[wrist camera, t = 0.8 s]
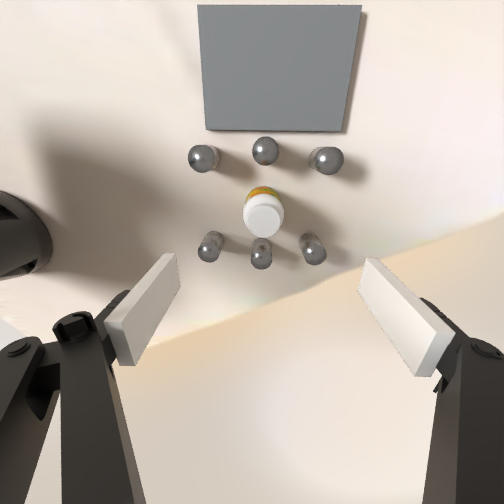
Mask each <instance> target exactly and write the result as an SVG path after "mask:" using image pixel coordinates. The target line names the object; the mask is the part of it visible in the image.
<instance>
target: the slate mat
mask: <svg viewBox="0 0 504 504" xmlns="http://www.w3.org/2000/svg"><path fill="white" fill-rule="evenodd" d="M197 9H198V23H199V38H200V53H201V67H202V82H203V97H204V111H205V126H206V130H260V131H333V132H339V131H341V129H342V123H343V117H344V111H345V105H346V99H347V93H348V87H349V81H350V75H351V69H352V63H353V57H354V51H355V45H356V39H357V33H358V27H359V21H360V15H361V9H362V5H197Z"/></svg>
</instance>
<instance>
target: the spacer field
mask: <svg viewBox="0 0 504 504" xmlns="http://www.w3.org/2000/svg"><path fill="white" fill-rule="evenodd" d="M252 153H253V157H254V159H255V161H256V162H257V163H259V164H261V165H270V164H272V163H273V162H274V161H275V160H276V159H277V157H278V153H279V148H278V145H277V143H276V141H275V140H274V139H272V138H270V137H261V138H259V139H258V140H257V141H256V142H255V144H254V146H253V150H252ZM188 161H189V164H190V166H191V167H192V168H193V169H194V170H195V171H197V172H200V173H205V172H207V171H209V170H212V169H214V168H215V167H217V166H218V164H219V162H220V154H219V152H218V150H217V149H216V148H215V147H213V146H211V145H196V146H194V147H192V148H191V150H190V151H189V154H188ZM343 161H344V157H343V153H342V152H341V150H340V149H338V148H336V147H318V148H316V149H314V150H313V151H312V152H311V154H310V156H309V164H310V166H311V168H312V169H313V170H315V171H318V172H320V173H322V174H325V175H332V174H335V173H336V172H338V171H339V170H340V168H341V167H342V165H343ZM223 243H224V238H223V236H222V235H221V234H220V233H218V232H215V231H212V232H209V233H208V234H207V235H206V237H205V238H204V240H203V242H202V243H201V245H200V247H199V249H198V255H199V257H200V258H201V259H202V260H203V261H205V262H214V261H216V260H217V259H218V257H219V254H220V251H221V249H222V246H223ZM299 245H300V248H301V250H302V253H303V255H304V258H305V260H306V262H307V263H309V264H311V265H318V264H321V263H322V262H323V261H324V260H325V259H326V251H325V249H324V247H323V246H322V244H321V243H320V241H319V240H318V238H317V237H316V236H315V235H314V234H305V235H304V236H302V237H301V239H300V241H299ZM251 263H252V265H253V266H254V267H255V268H257V269H266V268H268V267H269V266H270V265H271V263H272V254H271V246H270V243H269V241H268V240H266V239H264V238H258V239H256V240H255V241H254V242H253V244H252V253H251Z"/></svg>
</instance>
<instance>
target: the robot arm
mask: <svg viewBox="0 0 504 504" xmlns="http://www.w3.org/2000/svg"><path fill="white" fill-rule="evenodd" d="M51 254H52V243H51V238H50V236H49V233H48V231H47V229H46V227H45V226H44V224H43V223H42V221H41V220H40V219H39V217H38V216H37V215H36V214H35V213H34V212H33V211H32V210H31V209H30V208H29V207H28V206H26V205H25V204H24V203H22V202H21V201H19V200H18V199H16V198H14V197H13V196H11V195H9V194H7V193H4V192H1V191H0V281H3V280H7V279H11V278H16V277H20V276H24V275H27V274H30V273H32V272H34V271H36V270H37V269H39V268H41V267H43V266H44V265H45V264H46V263H47V262H48V261H49V259H50V257H51ZM179 288H180V281H179V274H178V268H177V261H176V255H175V253H164V254H163V255H162V256H161V257H160V259H159V260H158V261H157V262H156V263H155V264H154V265H153V266H152V268H151V269H150V270H149V271H148V272H147V273H146V274H145V275H144V277H143V278H142V279H141V280H140V281H139V282H138V283H137V284H136V285H135V287H134V288H133V289H132V290H125V291H123V292H122V293H120V294H118V295H117V296H116V297H115V298H114V299H113V300H112V301H111V303H109V304H108V305H107V306H106V308H104V309H103V310H102V311H101V313H100V314H99V315H98V316H97V317H96V318H95V319H93V317H92V315H91V313H90V312H86V311H81V312H76V313H72V314H69V315H67V316H65V317H63V318H62V319H60V320H59V321H57V322H56V323H55V324H54V326H53V329H52V330H53V332H54V334H55V336H56V338H57V340H58V341H56V342H51V343H46V344H42V342H41V340H40V339H39V338H38V337H34V336H32V337H25V338H22V339H19V340H17V341H14V342H12V343H11V344H9V345H7V346H6V347H4V348H3V349H2V350H1V351H0V504H24V503H25V499H26V497H27V494H28V490H29V487H30V484H31V481H32V478H33V475H34V472H35V469H36V466H37V462H38V459H39V456H40V453H41V450H42V447H43V444H44V440H45V437H46V434H47V431H48V428H49V425H50V422H51V419H52V416H53V413H54V409H55V406H56V403H57V400H58V397H59V394H61V395H60V396H61V468H62V469H61V471H62V472H61V477H62V504H146V501H145V497H144V493H143V489H142V485H141V481H140V477H139V472H138V468H137V465H136V460H135V456H134V452H133V448H132V444H131V440H130V436H129V432H128V428H127V424H126V420H125V416H124V412H123V408H122V404H121V399H120V395H119V391H118V388H117V384H116V379H115V375H114V371H113V368H112V365H111V364H112V363H113V361H114V360H115V358H116V357H117V360H118V363H119V365H120V366H136V364H137V362H138V360H139V359H140V357H141V355H142V353H143V352H144V350H145V348H146V346H147V345H148V343H149V341H150V339H151V337H152V336H153V334H154V332H155V330H156V329H157V327H158V325H159V323H160V322H161V320H162V318H163V316H164V314H165V313H166V311H167V309H168V307H169V306H170V304H171V302H172V300H173V299H174V297H175V295H176V293H177V291H178V290H179ZM357 292H358V293H359V295H360V296H361V298H362V299H363V301H364V302H365V304H366V305H367V307H368V308H369V310H370V311H371V313H372V314H373V316H374V317H375V319H376V320H377V322H378V323H379V325H380V326H381V327H382V329H383V331H384V332H385V333H386V335H387V336H388V338H389V339H390V341H391V342H392V344H393V345H394V347H395V348H396V350H397V351H398V353H399V354H400V356H401V357H402V359H403V360H404V362H405V363H406V365H407V366H408V368H409V369H410V371H411V372H412V374H413V375H414V376H422V377H431V376H432V374H433V372H434V371H435V369H436V368H437V369H438V371H439V372H440V373H441V374H442V377H441V379H440V380H439V382H438V384H437V385H436V387H435V389H434V390H433V392H435V393H436V392H437V391H438V393H437V401H436V407H435V415H434V423H433V429H432V437H431V444H430V451H429V459H428V466H427V473H426V480H425V487H424V495H423V502H422V504H504V354H503V353H502V352H501V351H500V350H499V349H497V348H496V347H494V346H493V345H491V344H489V343H487V342H485V341H483V340H479V339H476V338H470V337H468V336H467V335H466V334H465V333H464V332H463V331H462V330H461V329H459V327H458V326H456V325H455V324H454V323H453V322H452V321H451V320H450V319H449V318H447V317H446V316H445V315H444V314H443V313H442V312H440V310H439V309H438V308H437V307H436V306H434V305H433V304H432V303H430V302H429V301H427V300H425V299H424V298H418V297H417V296H416V295H415V294H414V293H413V292H412V291H411V290H410V289H409V288H408V287H407V286H406V285H405V284H404V283H403V282H402V281H401V280H400V279H399V278H398V277H396V276H395V275H394V274H393V273H392V272H391V271H390V270H389V269H388V268H387V267H386V266H385V265H384V264H383V263H382V262H381V261H380V260H379V259H378V258H366V260H365V264H364V267H363V271H362V275H361V279H360V282H359V286H358V290H357Z"/></svg>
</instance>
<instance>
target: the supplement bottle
mask: <svg viewBox="0 0 504 504" xmlns="http://www.w3.org/2000/svg"><path fill="white" fill-rule="evenodd" d="M283 219H284V209H283V206H282V204H281V201H280V198H279V196H278V194H277V193H276V191H275V190H273V189H272V188H270V187H267V186H259V187H256V188H254V189H253V190H252V191H251V192H250V193H249V194H248V196H247V198H246V202H245V206H244V209H243V220H244V223H245V225H246V226H247V228H248V229H249V230H250V232H251V233H252V234H253V235H255V236H257V237H260V238H267V237H271V236H273V235H274V234H275V233H276V232H277V231H278V230H279V228H280V226H281V224H282V222H283Z"/></svg>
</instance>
